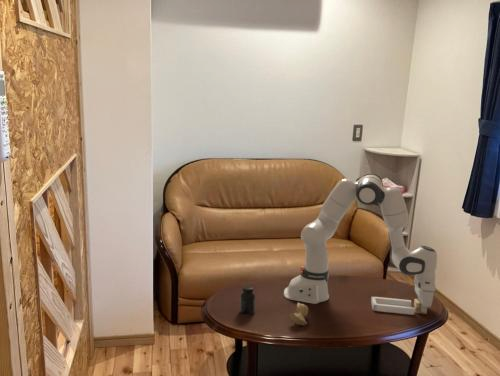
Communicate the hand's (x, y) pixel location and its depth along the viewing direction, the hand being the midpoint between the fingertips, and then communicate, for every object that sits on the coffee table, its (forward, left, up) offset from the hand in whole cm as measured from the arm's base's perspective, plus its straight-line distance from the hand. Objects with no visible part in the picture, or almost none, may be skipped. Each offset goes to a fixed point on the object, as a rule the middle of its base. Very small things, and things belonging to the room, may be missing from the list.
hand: (421, 308), depth 217 cm
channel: (-13, 0, -2) cm, 13 cm away
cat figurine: (-56, -23, -2) cm, 60 cm away
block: (0, 0, -2) cm, 2 cm away
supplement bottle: (-80, -20, -2) cm, 82 cm away
